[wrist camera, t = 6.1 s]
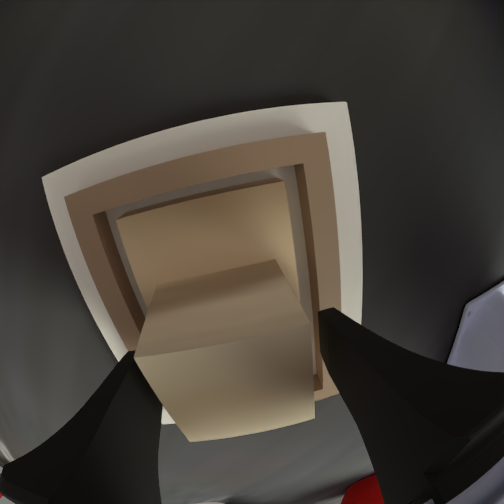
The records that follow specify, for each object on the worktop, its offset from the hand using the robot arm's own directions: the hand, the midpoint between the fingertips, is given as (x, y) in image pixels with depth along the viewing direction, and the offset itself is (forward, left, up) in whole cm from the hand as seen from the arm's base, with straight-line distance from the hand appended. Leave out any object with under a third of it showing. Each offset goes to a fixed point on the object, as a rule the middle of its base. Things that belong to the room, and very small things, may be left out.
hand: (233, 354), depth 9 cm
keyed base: (0, 0, -4) cm, 4 cm away
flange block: (0, 0, -3) cm, 3 cm away
